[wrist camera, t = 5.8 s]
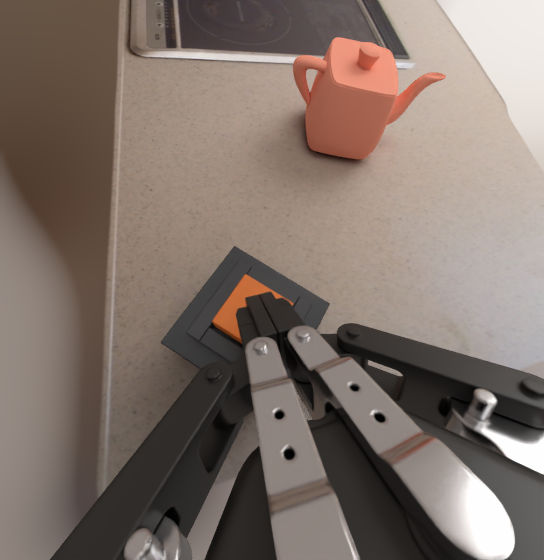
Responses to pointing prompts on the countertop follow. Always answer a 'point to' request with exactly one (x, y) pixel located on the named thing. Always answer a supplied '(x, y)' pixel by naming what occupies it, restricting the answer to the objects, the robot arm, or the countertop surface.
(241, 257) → the push button box
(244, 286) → the key
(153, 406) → the countertop surface
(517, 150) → the countertop surface
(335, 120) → the teapot
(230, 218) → the countertop surface
